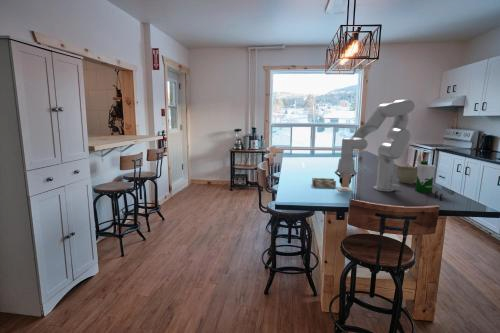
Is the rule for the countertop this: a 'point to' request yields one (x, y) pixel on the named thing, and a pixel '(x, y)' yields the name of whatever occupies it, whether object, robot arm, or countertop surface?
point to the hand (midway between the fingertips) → (344, 183)
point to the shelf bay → (323, 182)
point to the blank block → (345, 180)
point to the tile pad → (344, 189)
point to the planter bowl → (407, 174)
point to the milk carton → (425, 177)
